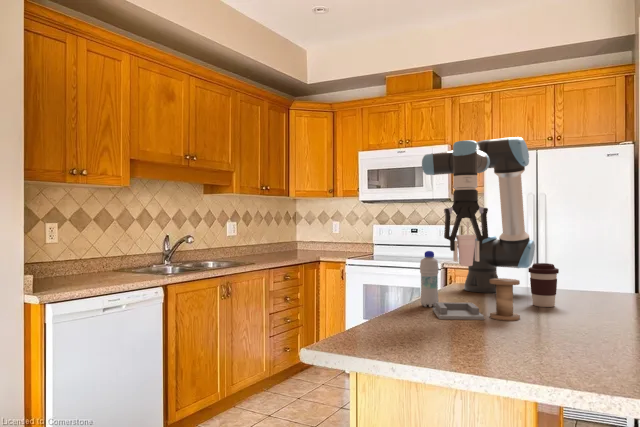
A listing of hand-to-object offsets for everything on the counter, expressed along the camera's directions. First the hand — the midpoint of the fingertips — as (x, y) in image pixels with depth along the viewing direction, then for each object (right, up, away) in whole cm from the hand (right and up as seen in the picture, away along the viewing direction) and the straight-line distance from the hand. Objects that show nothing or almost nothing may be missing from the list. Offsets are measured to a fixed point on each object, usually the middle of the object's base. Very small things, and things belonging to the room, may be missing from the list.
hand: (466, 260), depth 158 cm
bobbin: (+12, -18, -1) cm, 22 cm away
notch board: (-2, -18, +4) cm, 19 cm away
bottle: (-8, -18, +19) cm, 28 cm away
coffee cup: (+34, -18, +19) cm, 43 cm away
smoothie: (0, -2, 0) cm, 2 cm away
